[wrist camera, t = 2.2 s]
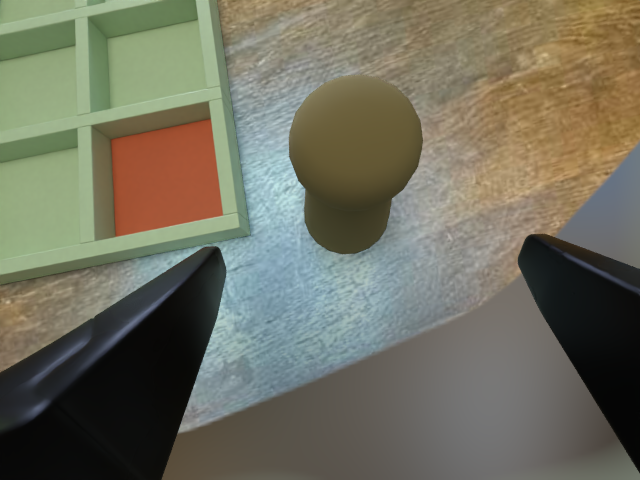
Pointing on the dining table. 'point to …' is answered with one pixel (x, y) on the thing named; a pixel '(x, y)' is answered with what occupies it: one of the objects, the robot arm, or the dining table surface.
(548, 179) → the dining table surface
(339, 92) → the cork
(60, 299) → the dining table surface
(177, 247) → the grid
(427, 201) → the dining table surface
